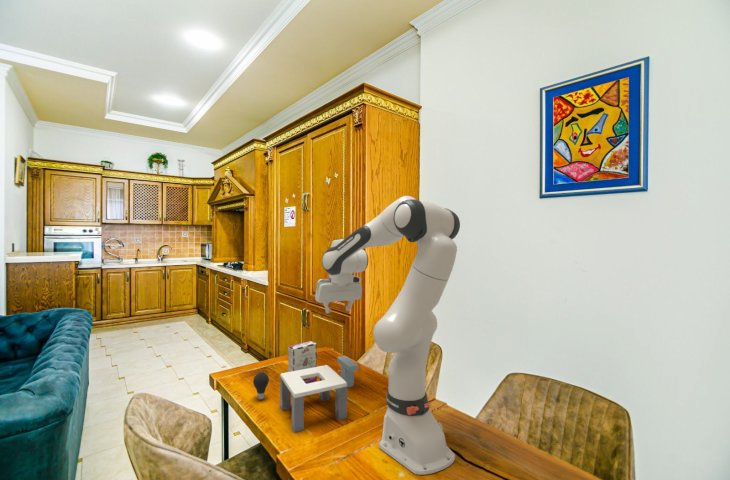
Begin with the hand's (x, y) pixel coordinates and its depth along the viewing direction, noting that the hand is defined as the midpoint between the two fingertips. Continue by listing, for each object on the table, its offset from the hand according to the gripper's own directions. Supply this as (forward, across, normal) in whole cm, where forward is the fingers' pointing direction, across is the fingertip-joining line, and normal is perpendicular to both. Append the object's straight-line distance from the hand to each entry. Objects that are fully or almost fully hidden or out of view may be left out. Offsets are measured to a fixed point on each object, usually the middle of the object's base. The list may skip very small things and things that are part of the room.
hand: (338, 311), depth 134 cm
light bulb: (+32, -29, +5) cm, 43 cm away
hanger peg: (+31, +5, -2) cm, 31 cm away
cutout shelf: (+30, -16, -14) cm, 37 cm away
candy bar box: (+32, -10, +9) cm, 35 cm away
